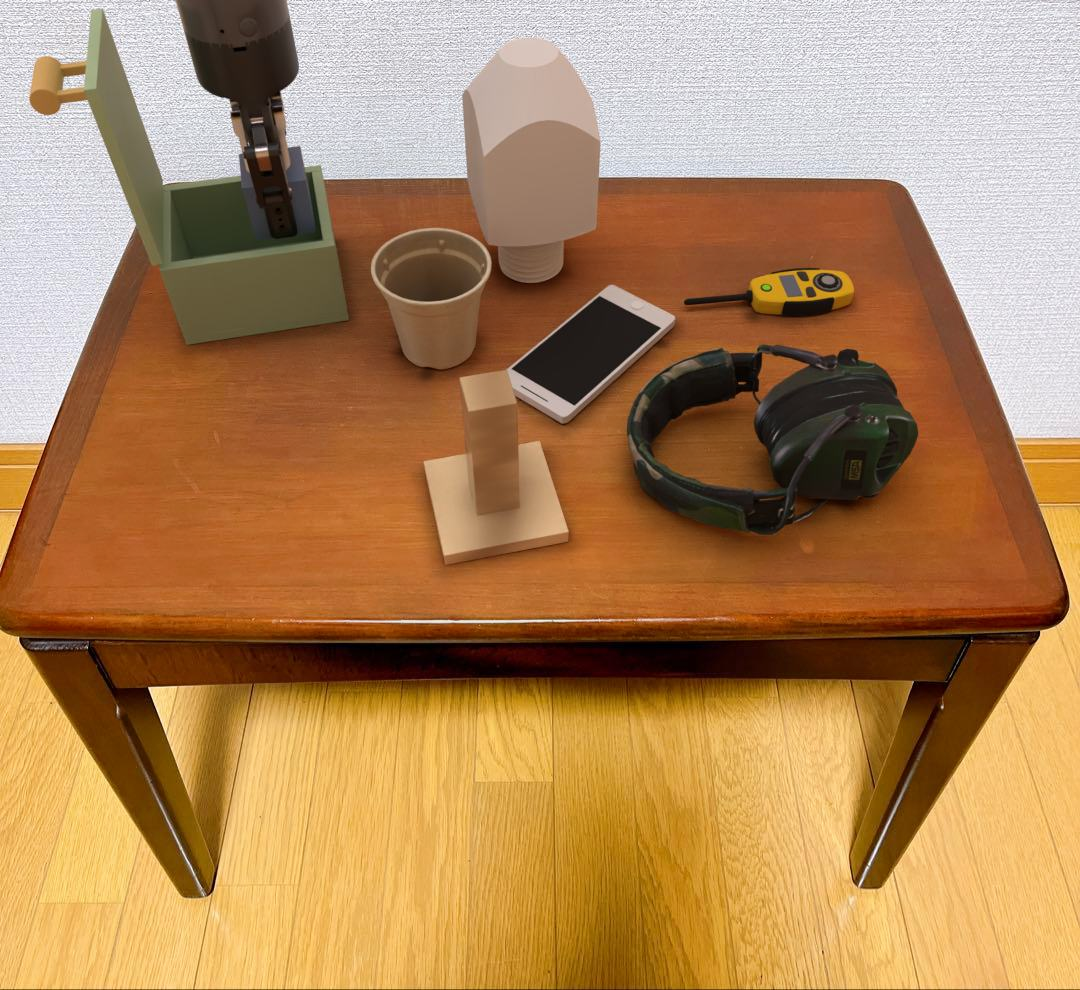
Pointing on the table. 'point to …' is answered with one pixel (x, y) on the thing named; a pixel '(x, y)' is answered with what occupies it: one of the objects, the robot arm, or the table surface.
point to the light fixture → (531, 156)
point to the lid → (110, 124)
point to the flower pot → (433, 292)
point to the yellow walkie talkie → (793, 292)
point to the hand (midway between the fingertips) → (282, 214)
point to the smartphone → (588, 352)
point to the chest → (246, 264)
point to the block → (299, 202)
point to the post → (493, 481)
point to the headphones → (778, 434)
